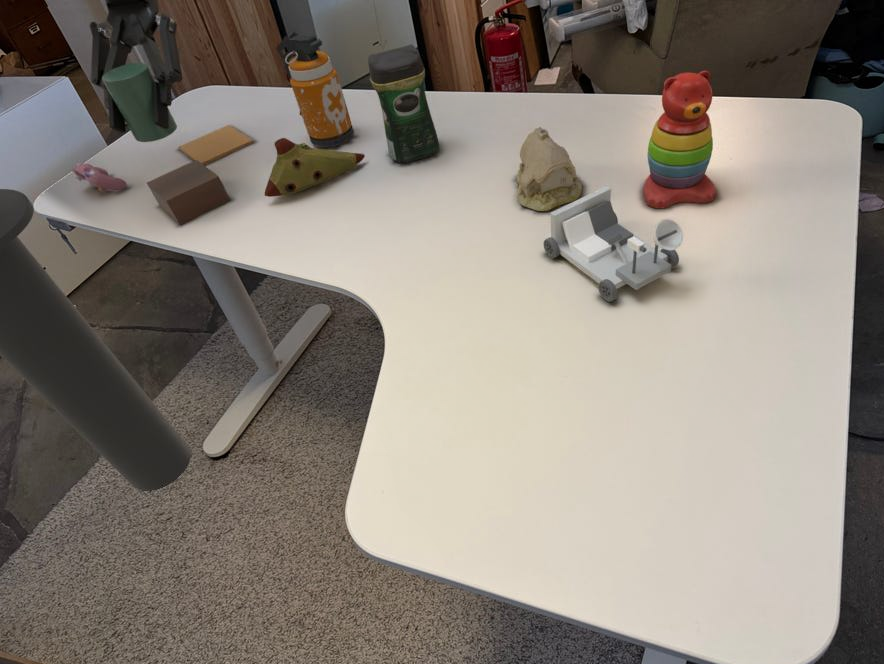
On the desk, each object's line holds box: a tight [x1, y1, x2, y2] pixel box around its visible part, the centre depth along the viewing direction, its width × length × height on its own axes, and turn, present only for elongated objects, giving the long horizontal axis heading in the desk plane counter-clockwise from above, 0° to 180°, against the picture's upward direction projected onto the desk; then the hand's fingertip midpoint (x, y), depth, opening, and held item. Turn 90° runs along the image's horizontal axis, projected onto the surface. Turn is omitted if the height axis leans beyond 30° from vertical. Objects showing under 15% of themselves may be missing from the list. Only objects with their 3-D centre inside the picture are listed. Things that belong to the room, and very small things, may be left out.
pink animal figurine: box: [71, 162, 128, 193], centre depth 119 cm, size 10×5×7 cm, turn 50°
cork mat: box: [177, 124, 254, 166], centre depth 128 cm, size 12×12×1 cm
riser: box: [146, 160, 231, 226], centre depth 111 cm, size 10×10×5 cm
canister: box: [275, 31, 355, 148], centre depth 117 cm, size 9×11×20 cm
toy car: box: [543, 185, 684, 303], centre depth 82 cm, size 18×10×12 cm
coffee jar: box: [367, 44, 440, 164], centre depth 109 cm, size 10×8×19 cm
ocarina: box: [264, 137, 366, 198], centre depth 108 cm, size 20×5×10 cm, turn 125°
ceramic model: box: [516, 126, 583, 212], centre depth 98 cm, size 14×11×10 cm
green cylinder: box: [102, 62, 178, 143], centre depth 99 cm, size 7×7×10 cm
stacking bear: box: [642, 70, 717, 209], centre depth 90 cm, size 11×10×18 cm
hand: (139, 127), depth 98 cm, fingers closed on green cylinder, 7 cm apart
